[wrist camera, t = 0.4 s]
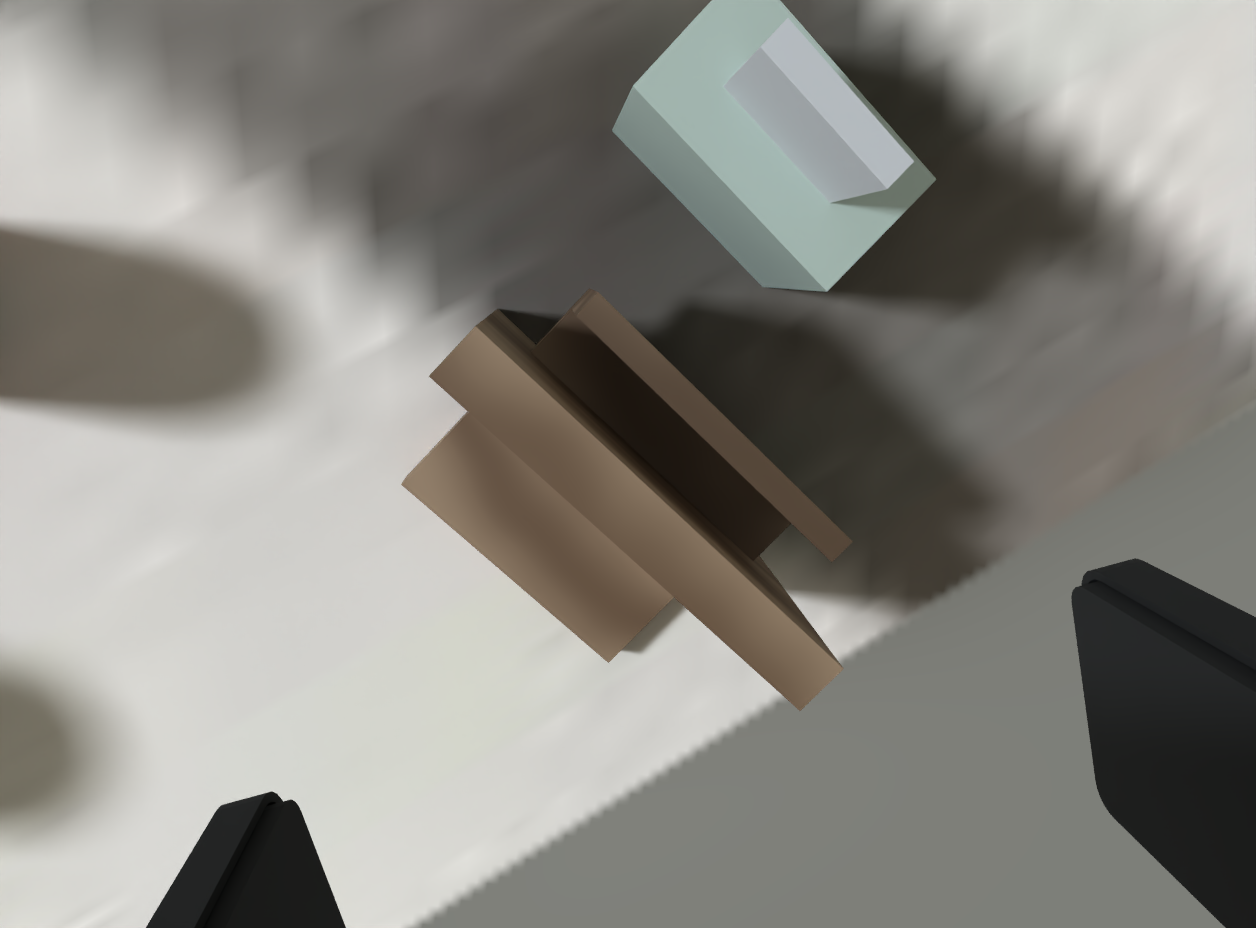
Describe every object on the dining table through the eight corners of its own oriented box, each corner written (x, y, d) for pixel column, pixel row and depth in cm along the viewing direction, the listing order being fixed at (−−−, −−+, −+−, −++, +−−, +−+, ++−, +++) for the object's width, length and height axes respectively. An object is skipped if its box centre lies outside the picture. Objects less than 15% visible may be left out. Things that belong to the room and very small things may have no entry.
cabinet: (697, 37, 36) (790, -106, 22) (845, 200, 38) (1015, 161, 24) (612, 130, 36) (651, 46, 23) (762, 286, 38) (882, 296, 25)
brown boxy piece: (550, 252, 37) (551, 244, 25) (808, 504, 40) (914, 599, 29) (370, 445, 38) (292, 522, 26) (637, 675, 41) (672, 834, 30)
